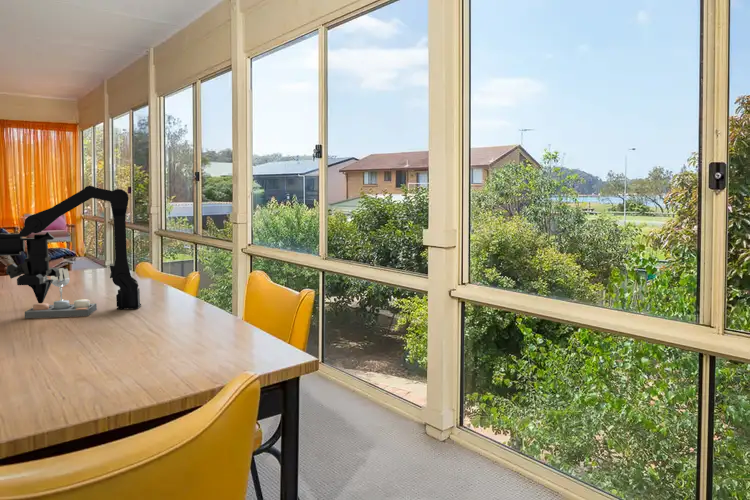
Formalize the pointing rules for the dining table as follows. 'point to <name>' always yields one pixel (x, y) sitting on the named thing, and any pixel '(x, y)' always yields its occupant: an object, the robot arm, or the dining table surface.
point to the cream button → (81, 303)
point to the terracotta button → (41, 306)
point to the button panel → (60, 312)
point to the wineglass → (61, 279)
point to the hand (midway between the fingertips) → (40, 303)
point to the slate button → (61, 304)
